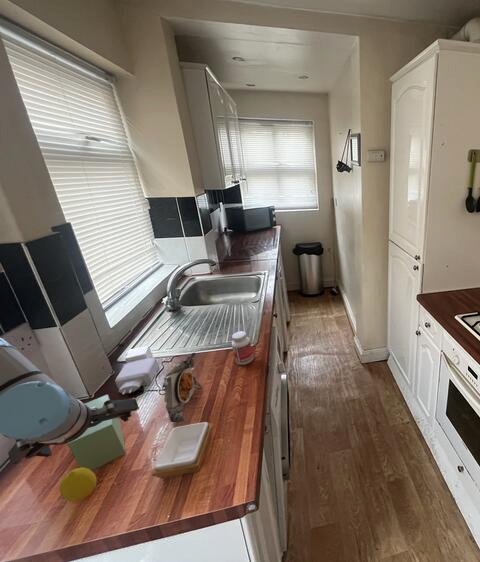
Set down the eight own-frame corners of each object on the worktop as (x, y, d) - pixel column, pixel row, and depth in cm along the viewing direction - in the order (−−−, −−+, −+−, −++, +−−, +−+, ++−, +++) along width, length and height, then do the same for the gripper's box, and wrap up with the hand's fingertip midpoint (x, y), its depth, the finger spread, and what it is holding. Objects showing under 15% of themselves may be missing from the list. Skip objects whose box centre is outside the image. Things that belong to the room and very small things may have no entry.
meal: (187, 421, 87) (174, 384, 82) (171, 423, 86) (157, 386, 81) (205, 385, 101) (195, 351, 96) (191, 386, 100) (180, 353, 95)
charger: (111, 403, 94) (129, 374, 107) (146, 395, 97) (159, 367, 110) (105, 391, 92) (124, 362, 105) (141, 383, 95) (155, 356, 108)
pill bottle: (257, 356, 115) (251, 330, 111) (247, 366, 109) (241, 340, 105) (242, 354, 116) (236, 329, 112) (232, 364, 110) (225, 338, 106)
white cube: (130, 372, 108) (124, 358, 106) (134, 363, 113) (129, 349, 111) (150, 367, 110) (145, 353, 108) (153, 358, 115) (148, 345, 113)
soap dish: (176, 439, 81) (171, 425, 79) (216, 432, 83) (211, 418, 81) (155, 485, 70) (148, 470, 68) (201, 476, 72) (196, 460, 70)
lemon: (64, 514, 65) (47, 489, 62) (75, 490, 69) (60, 465, 66) (96, 503, 67) (82, 478, 64) (105, 480, 71) (92, 456, 68)
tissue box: (84, 474, 73) (66, 443, 69) (83, 438, 83) (67, 409, 79) (126, 453, 78) (111, 423, 74) (120, 421, 87) (107, 393, 84)
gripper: (-47, 489, 46) (14, 484, 63) (149, 403, 62) (157, 417, 78) (-56, 442, 48) (5, 449, 64) (137, 370, 64) (147, 390, 80)
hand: (88, 431), depth 71 cm, fingers open, 13 cm apart
